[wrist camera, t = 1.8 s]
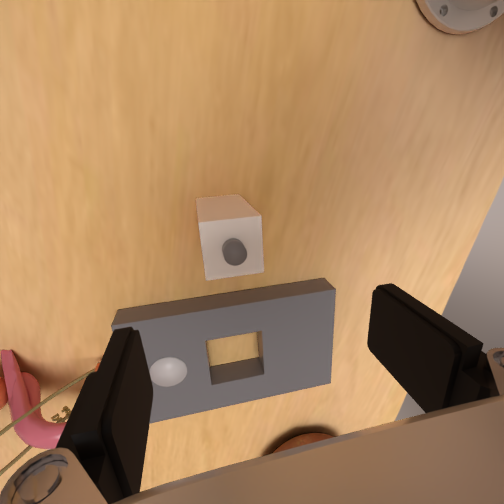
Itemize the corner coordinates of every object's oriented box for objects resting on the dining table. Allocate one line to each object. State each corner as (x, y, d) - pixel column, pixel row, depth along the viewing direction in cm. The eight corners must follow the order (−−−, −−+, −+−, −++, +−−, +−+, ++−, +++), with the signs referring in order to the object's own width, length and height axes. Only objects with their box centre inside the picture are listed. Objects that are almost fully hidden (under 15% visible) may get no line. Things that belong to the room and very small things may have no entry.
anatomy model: (153, 433, 33) (-47, 621, 19) (77, 371, 39) (-114, 474, 25) (159, 353, 29) (-84, 511, 15) (74, 299, 36) (-150, 374, 22)
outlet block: (324, 277, 34) (336, 289, 32) (320, 366, 40) (330, 383, 37) (118, 309, 30) (110, 326, 28) (143, 404, 36) (139, 426, 33)
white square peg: (238, 193, 29) (265, 219, 19) (241, 234, 30) (268, 279, 20) (195, 197, 28) (198, 227, 18) (201, 239, 30) (206, 288, 19)
